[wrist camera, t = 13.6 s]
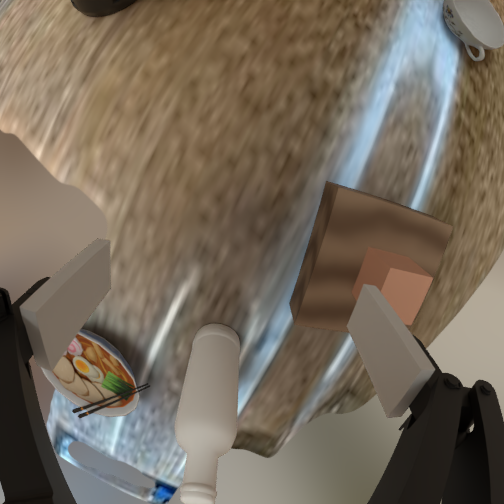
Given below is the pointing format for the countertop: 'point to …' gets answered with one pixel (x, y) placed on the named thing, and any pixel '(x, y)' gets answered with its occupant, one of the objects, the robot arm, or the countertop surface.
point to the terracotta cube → (395, 281)
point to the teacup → (474, 24)
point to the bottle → (208, 410)
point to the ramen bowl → (95, 377)
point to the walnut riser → (358, 251)
